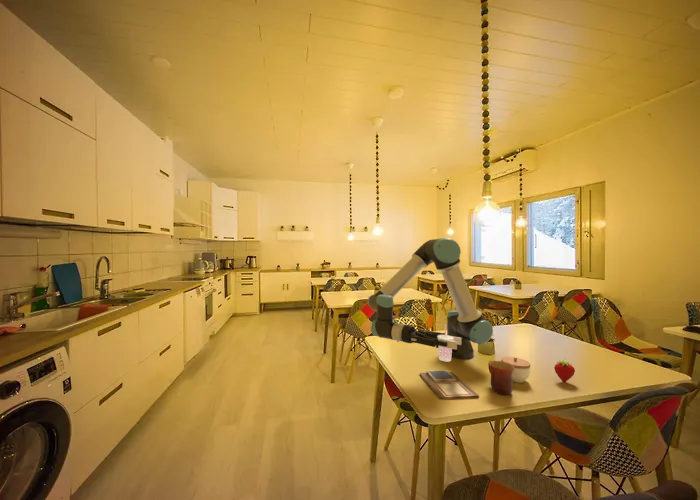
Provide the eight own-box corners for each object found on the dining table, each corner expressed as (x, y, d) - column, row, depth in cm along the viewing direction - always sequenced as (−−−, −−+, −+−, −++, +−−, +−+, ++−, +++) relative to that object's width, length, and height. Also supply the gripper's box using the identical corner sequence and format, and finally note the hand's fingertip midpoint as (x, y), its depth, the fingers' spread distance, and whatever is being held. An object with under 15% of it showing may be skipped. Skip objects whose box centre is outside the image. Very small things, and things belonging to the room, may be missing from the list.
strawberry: (579, 385, 113) (579, 360, 113) (561, 385, 112) (561, 360, 112) (567, 378, 119) (566, 355, 119) (550, 379, 118) (550, 355, 118)
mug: (520, 396, 103) (519, 369, 103) (497, 397, 102) (497, 369, 102) (499, 382, 115) (499, 357, 115) (479, 382, 114) (479, 357, 114)
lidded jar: (530, 387, 110) (530, 364, 110) (500, 381, 116) (500, 358, 116) (530, 377, 119) (530, 356, 119) (501, 372, 125) (501, 351, 125)
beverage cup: (455, 359, 110) (456, 324, 111) (448, 363, 106) (449, 327, 106) (441, 355, 115) (441, 321, 115) (434, 359, 110) (434, 324, 111)
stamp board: (452, 373, 123) (452, 369, 123) (478, 397, 102) (479, 392, 102) (419, 374, 121) (419, 370, 121) (439, 399, 100) (439, 394, 100)
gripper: (412, 336, 129) (465, 347, 115) (394, 347, 113) (451, 360, 99) (412, 320, 129) (465, 328, 115) (394, 328, 113) (452, 339, 100)
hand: (458, 343), depth 107 cm, fingers closed on beverage cup, 6 cm apart
